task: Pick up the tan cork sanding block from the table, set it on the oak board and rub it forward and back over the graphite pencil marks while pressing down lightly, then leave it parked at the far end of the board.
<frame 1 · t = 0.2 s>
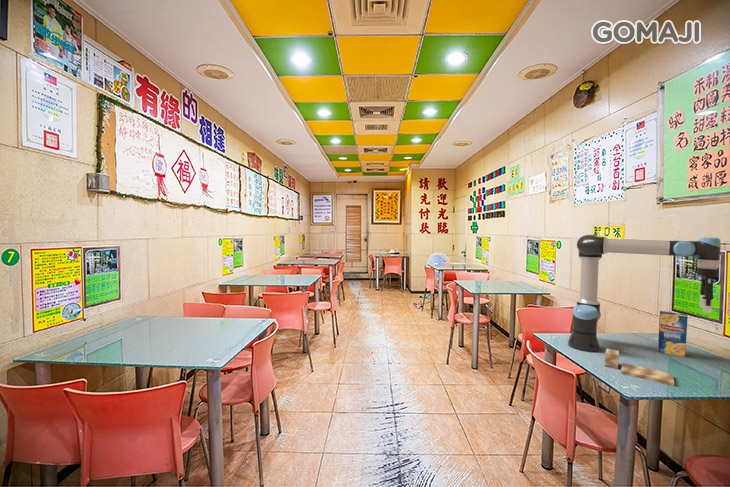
hand: (705, 310, 163), 28 cm above the table, fingers open, 13 cm apart
board: (646, 375, 150), on the table
blue food box: (670, 353, 180), on the table
sanding block: (611, 365, 161), on the table
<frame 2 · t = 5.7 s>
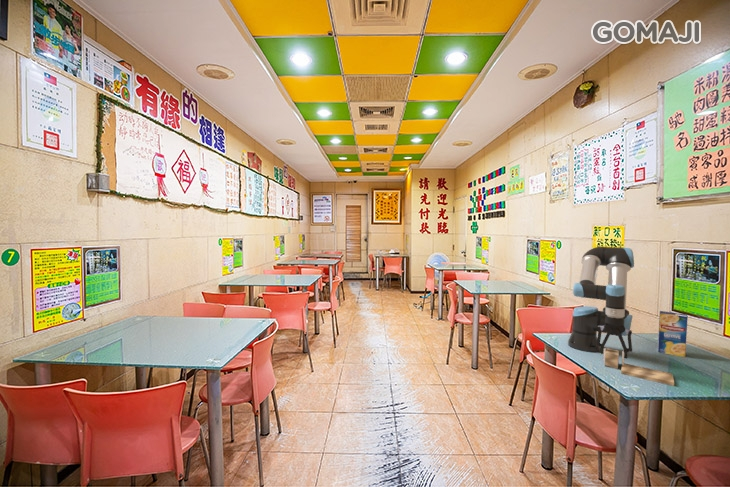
hand: (613, 362, 160), 2 cm above the table, fingers open, 7 cm apart
nothing on the table moved.
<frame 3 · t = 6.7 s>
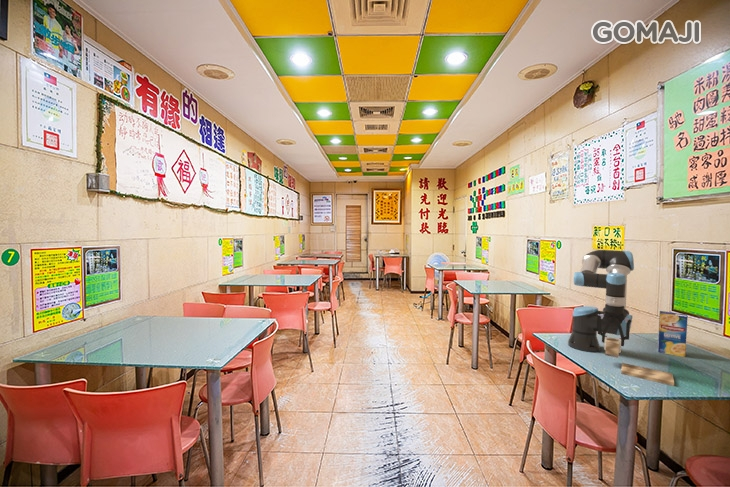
hand: (612, 350, 161), 7 cm above the table, fingers closed on sanding block, 5 cm apart
sanding block: (612, 354, 161), point 5 cm above the table, touching gripper
everything else where it was.
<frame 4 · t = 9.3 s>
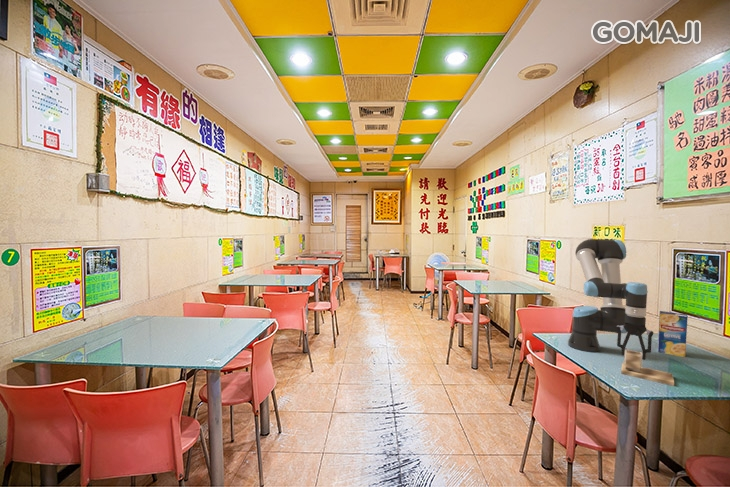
hand: (632, 364, 153), 4 cm above the table, fingers closed on sanding block, 5 cm apart
sanding block: (632, 367, 153), point 2 cm above the table, touching gripper
everything else where it was.
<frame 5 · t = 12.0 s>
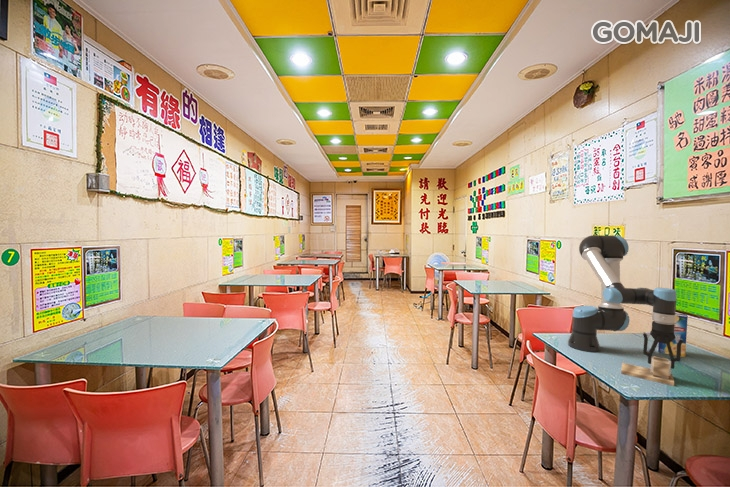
hand: (660, 372, 147), 3 cm above the table, fingers closed on sanding block, 5 cm apart
sanding block: (660, 375, 147), point 2 cm above the table, touching board, gripper
everything else where it was.
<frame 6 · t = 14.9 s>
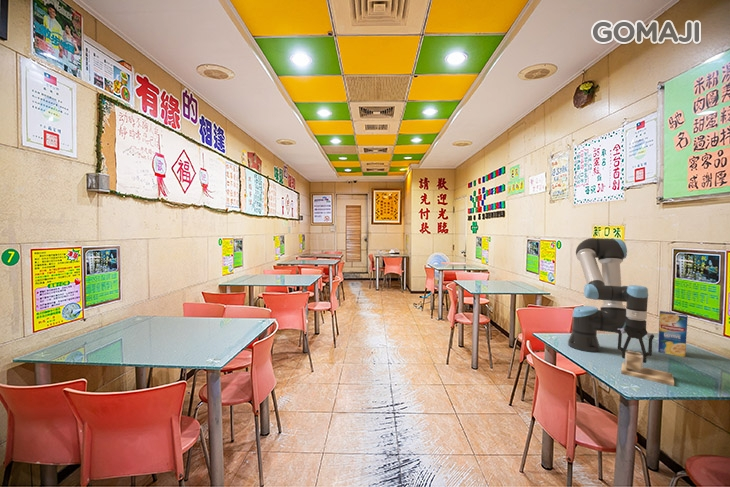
hand: (633, 367, 153), 2 cm above the table, fingers closed on sanding block, 5 cm apart
sanding block: (633, 368, 153), point 2 cm above the table, touching gripper
everything else where it was.
when the fingers open (3 cm above the table, at t = 17.7 s): sanding block stays where it is, resting on board.
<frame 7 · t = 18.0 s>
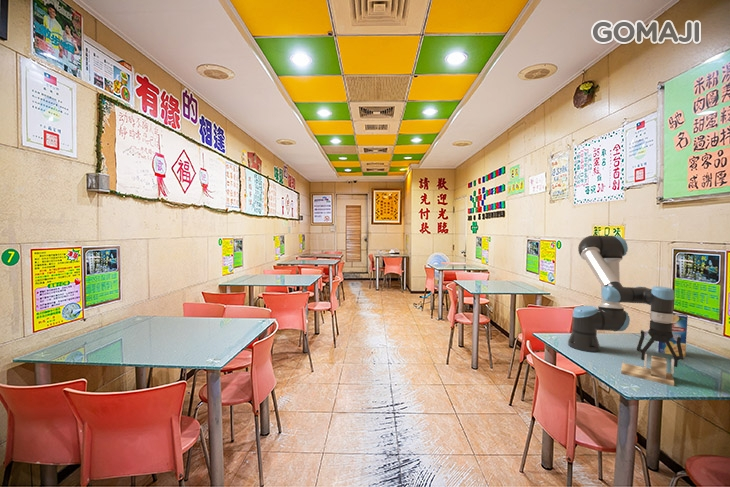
hand: (658, 370, 148), 4 cm above the table, fingers open, 8 cm apart
sanding block: (658, 374, 148), point 2 cm above the table, touching board
everything else where it was.
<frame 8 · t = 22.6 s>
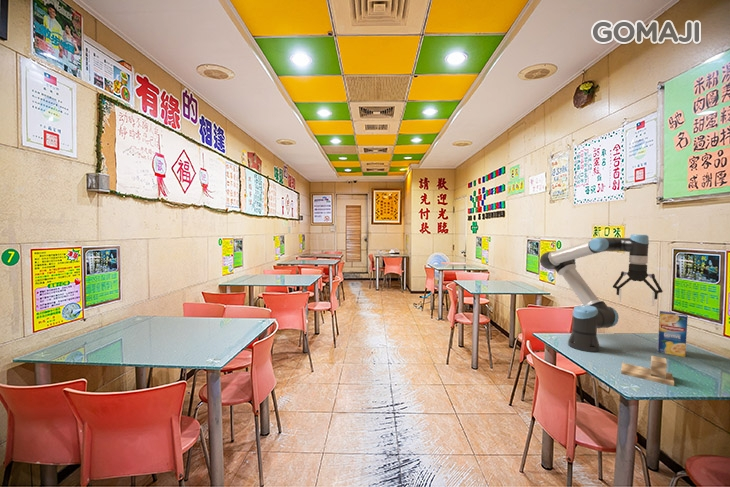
hand: (635, 303, 172), 29 cm above the table, fingers open, 13 cm apart
nothing on the table moved.
at the end: sanding block inside the target area on the board (4.0 cm from its centre), point 1.5 cm above the board's base; sanding block moved 17.3 cm from its start; the gripper is holding nothing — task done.
